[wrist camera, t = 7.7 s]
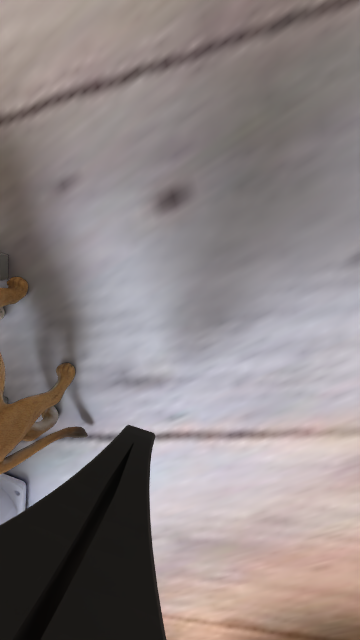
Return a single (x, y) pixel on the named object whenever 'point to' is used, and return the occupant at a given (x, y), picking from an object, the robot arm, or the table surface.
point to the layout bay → (2, 274)
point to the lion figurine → (29, 402)
